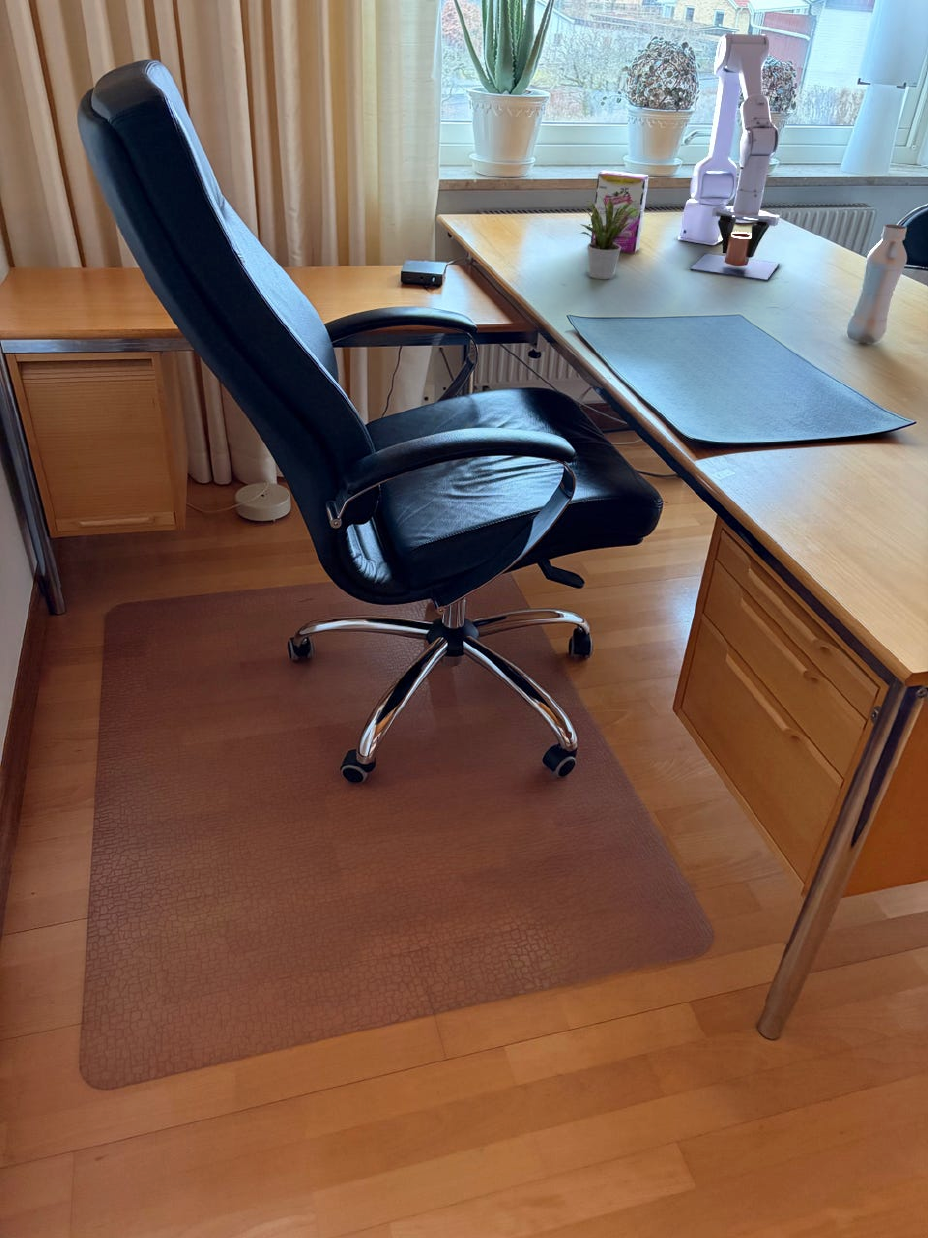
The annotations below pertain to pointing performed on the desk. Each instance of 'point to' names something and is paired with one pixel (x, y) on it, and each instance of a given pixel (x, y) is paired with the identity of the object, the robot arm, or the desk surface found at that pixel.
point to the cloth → (735, 267)
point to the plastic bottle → (878, 286)
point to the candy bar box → (620, 193)
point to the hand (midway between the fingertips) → (737, 254)
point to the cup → (738, 249)
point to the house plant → (605, 240)
